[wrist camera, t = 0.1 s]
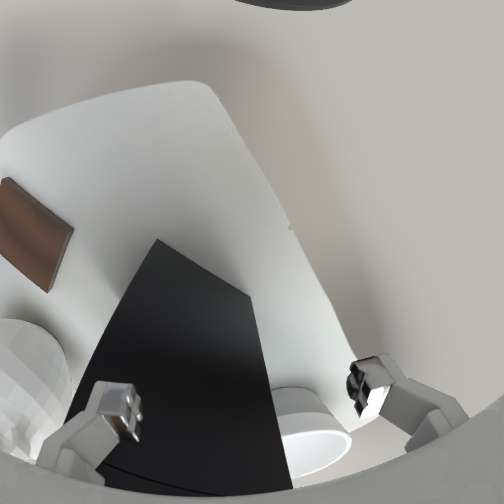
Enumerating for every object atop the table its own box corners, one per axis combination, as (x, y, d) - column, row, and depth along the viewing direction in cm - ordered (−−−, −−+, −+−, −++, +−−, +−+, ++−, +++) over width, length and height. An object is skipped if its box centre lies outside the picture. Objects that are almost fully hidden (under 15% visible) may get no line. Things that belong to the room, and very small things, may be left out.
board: (8, 176, 24) (2, 178, 22) (74, 228, 28) (68, 232, 26) (-7, 237, 26) (-13, 241, 25) (52, 288, 30) (47, 293, 29)
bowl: (205, 401, 40) (205, 456, 30) (317, 358, 39) (340, 413, 29) (253, 445, 47) (260, 488, 37) (341, 413, 46) (359, 455, 36)
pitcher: (51, 287, 30) (-50, 423, 7) (107, 383, 37) (71, 516, 14) (-13, 303, 29) (-89, 394, 6) (36, 383, 36) (-6, 480, 13)
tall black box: (157, 238, 29) (48, 467, 5) (250, 297, 33) (301, 520, 9) (120, 300, 32) (42, 493, 8) (206, 348, 36) (209, 541, 12)
